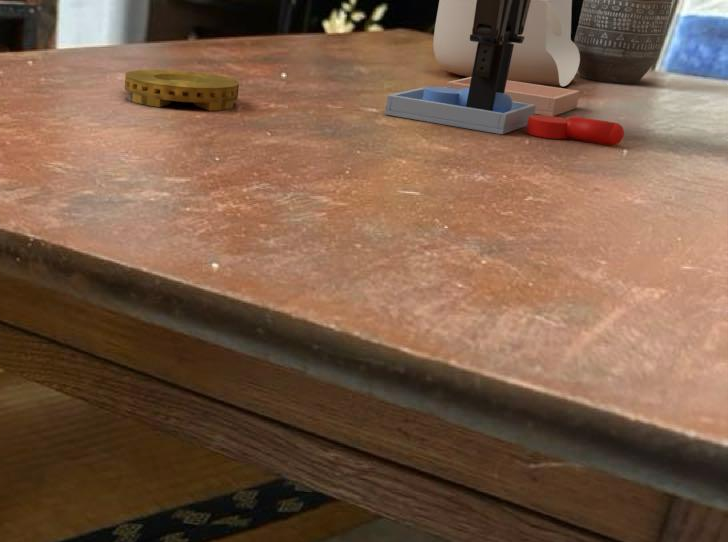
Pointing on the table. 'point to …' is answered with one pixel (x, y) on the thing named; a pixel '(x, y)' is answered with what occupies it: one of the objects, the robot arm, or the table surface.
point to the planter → (620, 38)
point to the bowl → (530, 59)
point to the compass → (181, 88)
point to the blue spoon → (464, 98)
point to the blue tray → (457, 113)
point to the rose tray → (533, 96)
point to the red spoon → (575, 129)
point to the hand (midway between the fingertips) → (483, 108)
